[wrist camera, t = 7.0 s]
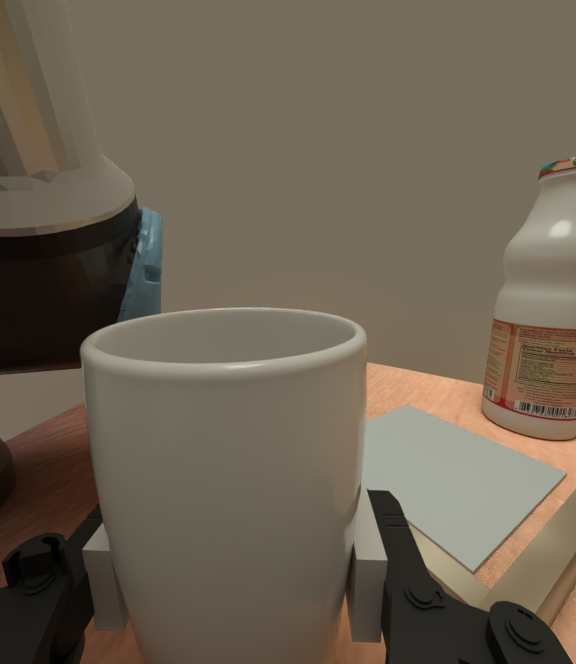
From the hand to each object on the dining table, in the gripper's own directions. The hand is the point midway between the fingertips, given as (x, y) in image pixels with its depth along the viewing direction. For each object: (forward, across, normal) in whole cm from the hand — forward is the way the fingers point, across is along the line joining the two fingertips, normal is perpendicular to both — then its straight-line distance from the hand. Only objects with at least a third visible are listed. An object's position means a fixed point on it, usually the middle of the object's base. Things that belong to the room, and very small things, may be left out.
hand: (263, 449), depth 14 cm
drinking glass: (-5, 0, -8) cm, 10 cm away
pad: (+13, +14, -10) cm, 22 cm away
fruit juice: (+21, +29, -10) cm, 37 cm away
